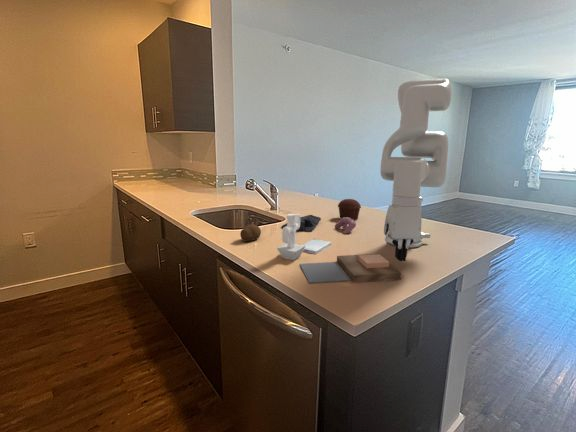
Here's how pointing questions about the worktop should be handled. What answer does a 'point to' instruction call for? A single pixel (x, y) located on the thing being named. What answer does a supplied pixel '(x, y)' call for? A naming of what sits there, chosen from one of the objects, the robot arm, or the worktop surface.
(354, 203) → the muffin
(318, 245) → the hard drive
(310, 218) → the dark slate chunk
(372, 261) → the tile
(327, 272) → the mat
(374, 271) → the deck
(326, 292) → the worktop surface
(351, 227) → the purple crystal rock
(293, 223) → the figurine
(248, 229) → the potato
